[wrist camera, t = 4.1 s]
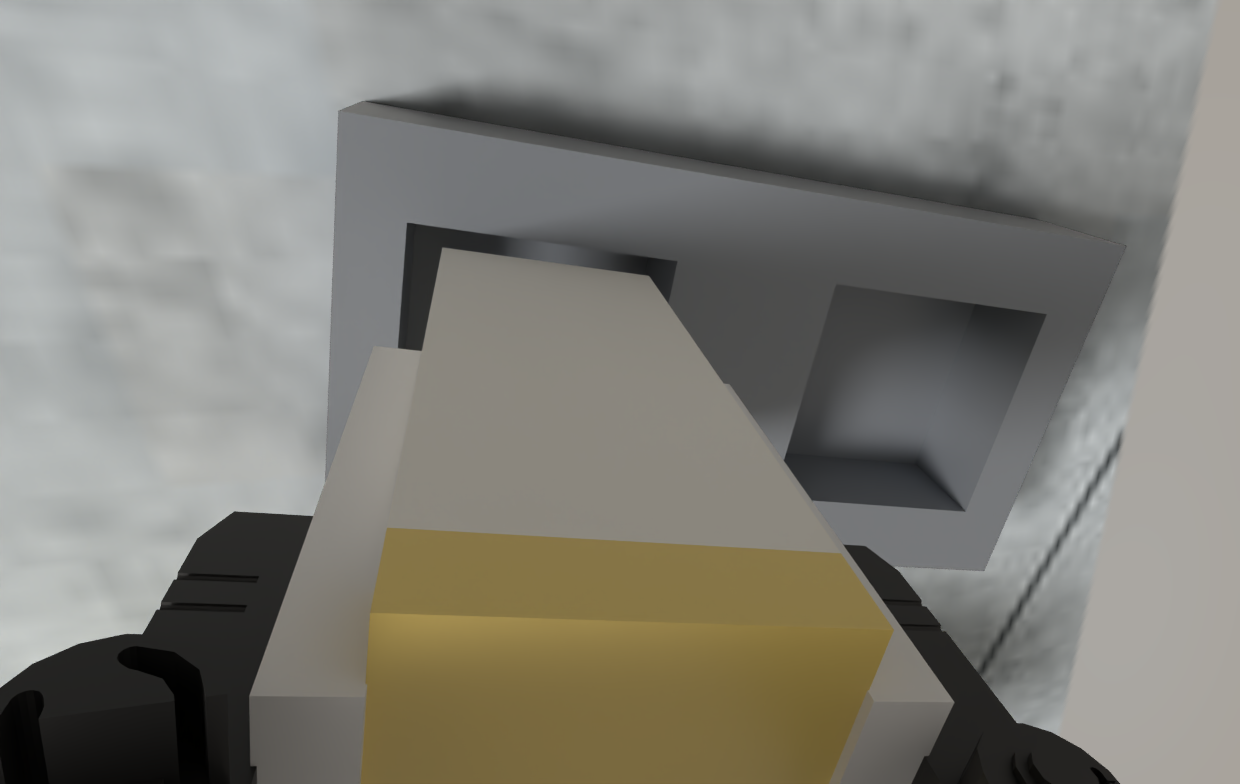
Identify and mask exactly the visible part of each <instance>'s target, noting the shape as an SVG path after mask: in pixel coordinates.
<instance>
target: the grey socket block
mask: <svg viewBox="0 0 1240 784" xmlns="http://www.w3.org/2000/svg"><path fill="white" fill-rule="evenodd" d="M442 247H443V248H451V249H458V250H465V251H472V252H480V253H487V254H494V255H501V256H509V257H516V258H523V259H530V260H538V261H545V262H552V263H559V264H567V265H574V266H581V267H589V268H596V269H603V270H610V271H618V272H625V273H632V274H639V275H647V276H649V277H650V278H651V279H652V281H653V282H654V284H655V285H656V287H657V288H658V290H659V291H660V292H661V294H662V295H663V297H664V298H665V300H666V301H667V303H668V304H669V305H670V307H671V308H672V310H673V311H674V313H675V314H676V316H677V317H678V318H679V320H680V321H681V323H682V324H683V326H684V327H685V329H686V330H687V331H688V333H689V334H690V336H691V337H692V339H693V340H694V342H695V343H696V344H697V346H698V347H699V349H700V350H701V352H702V353H703V355H704V356H705V357H706V359H707V360H708V362H709V363H710V365H711V366H712V368H713V369H714V370H715V372H716V373H717V375H718V376H719V378H720V379H721V381H722V382H723V383H724V384H730V386H731V387H732V388H733V390H734V391H735V393H736V394H737V396H738V397H739V398H740V400H741V401H742V403H743V404H744V405H745V407H746V408H747V410H748V411H749V413H750V414H751V415H752V417H753V418H754V420H755V421H756V422H757V424H758V425H759V427H760V428H761V429H762V431H763V432H764V434H765V435H766V437H767V438H768V439H769V441H770V442H771V444H772V445H773V446H774V448H775V449H776V451H777V452H778V454H779V455H780V456H781V458H782V459H783V461H784V462H785V463H786V465H787V466H788V468H789V469H790V471H791V472H792V473H793V475H794V476H795V478H796V479H797V480H798V482H799V483H800V485H801V486H802V487H803V489H804V490H805V492H806V493H807V495H808V496H809V497H810V499H811V500H812V502H813V503H814V504H815V506H816V507H817V509H818V510H819V512H820V513H821V514H822V516H823V517H824V519H825V520H826V521H827V523H828V524H829V526H830V527H831V528H832V530H833V531H834V533H835V534H836V536H837V537H838V538H839V540H840V541H841V543H842V544H843V545H859V546H866V547H868V548H869V549H870V550H872V551H873V552H874V553H876V554H877V555H878V556H879V557H881V558H882V559H883V560H885V561H886V562H887V563H889V564H890V565H891V566H898V567H917V568H936V569H955V570H974V571H984V570H985V568H986V566H987V563H988V561H989V559H990V556H991V554H992V552H993V550H994V547H995V545H996V543H997V540H998V538H999V536H1000V534H1001V531H1002V529H1003V527H1004V524H1005V522H1006V520H1007V518H1008V515H1009V513H1010V511H1011V508H1012V506H1013V504H1014V502H1015V499H1016V497H1017V495H1018V492H1019V490H1020V488H1021V486H1022V483H1023V481H1024V479H1025V476H1026V474H1027V472H1028V470H1029V467H1030V465H1031V463H1032V460H1033V458H1034V456H1035V454H1036V451H1037V449H1038V447H1039V444H1040V442H1041V440H1042V438H1043V435H1044V433H1045V431H1046V428H1047V426H1048V424H1049V422H1050V419H1051V417H1052V415H1053V412H1054V410H1055V408H1056V406H1057V403H1058V401H1059V399H1060V396H1061V394H1062V392H1063V390H1064V387H1065V385H1066V383H1067V380H1068V378H1069V376H1070V374H1071V371H1072V369H1073V367H1074V364H1075V362H1076V360H1077V358H1078V355H1079V353H1080V351H1081V348H1082V346H1083V344H1084V342H1085V339H1086V337H1087V335H1088V332H1089V330H1090V328H1091V326H1092V323H1093V321H1094V319H1095V316H1096V314H1097V312H1098V310H1099V307H1100V305H1101V303H1102V300H1103V298H1104V296H1105V294H1106V291H1107V289H1108V287H1109V284H1110V282H1111V280H1112V278H1113V275H1114V273H1115V271H1116V268H1117V266H1118V264H1119V262H1120V259H1121V257H1122V255H1123V252H1124V250H1125V248H1126V246H1125V245H1121V244H1118V243H1115V242H1111V241H1108V240H1105V239H1101V238H1098V237H1095V236H1091V235H1088V234H1085V233H1081V232H1078V231H1075V230H1071V229H1068V228H1065V227H1061V226H1058V225H1055V224H1051V223H1048V222H1045V221H1041V220H1037V219H1032V218H1026V217H1020V216H1014V215H1009V214H1003V213H997V212H992V211H986V210H980V209H975V208H969V207H963V206H957V205H952V204H946V203H940V202H935V201H929V200H923V199H918V198H912V197H906V196H900V195H895V194H889V193H883V192H878V191H872V190H866V189H861V188H855V187H849V186H843V185H838V184H832V183H826V182H821V181H815V180H809V179H804V178H798V177H792V176H787V175H781V174H775V173H769V172H764V171H758V170H752V169H747V168H741V167H735V166H730V165H724V164H718V163H712V162H707V161H701V160H695V159H690V158H684V157H678V156H673V155H667V154H661V153H655V152H650V151H644V150H638V149H633V148H627V147H621V146H616V145H610V144H604V143H598V142H593V141H587V140H581V139H576V138H570V137H564V136H559V135H553V134H547V133H541V132H536V131H530V130H524V129H519V128H513V127H507V126H502V125H496V124H490V123H484V122H479V121H473V120H467V119H462V118H456V117H450V116H445V115H439V114H433V113H427V112H422V111H416V110H410V109H405V108H399V107H393V106H388V105H382V104H376V103H370V102H365V101H362V102H359V103H357V104H354V105H352V106H349V107H347V108H344V109H342V110H339V111H338V137H337V165H336V193H335V221H334V249H333V277H332V304H331V332H330V360H329V388H328V416H327V444H326V471H325V482H326V479H327V476H328V474H329V471H330V468H331V465H332V462H333V459H334V457H335V454H336V451H337V448H338V445H339V443H340V440H341V437H342V434H343V431H344V429H345V426H346V423H347V420H348V417H349V415H350V412H351V409H352V406H353V403H354V401H355V398H356V395H357V392H358V389H359V386H360V384H361V381H362V378H363V375H364V372H365V370H366V367H367V364H368V361H369V358H370V356H371V353H372V350H373V347H374V346H379V347H388V348H398V349H407V350H416V351H422V348H423V343H424V338H425V333H426V328H427V322H428V317H429V312H430V307H431V302H432V297H433V292H434V287H435V282H436V277H437V272H438V267H439V262H440V257H441V252H442Z"/></svg>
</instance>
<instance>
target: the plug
mask: <svg viewBox="0 0 1240 784" xmlns="http://www.w3.org/2000/svg"><path fill="white" fill-rule="evenodd" d="M893 631H894V629H893V628H892V626H891V625H890V623H889V622H888V620H887V619H886V617H885V616H884V615H883V613H882V612H881V610H880V609H879V607H878V606H877V604H876V603H875V602H874V600H873V599H872V597H871V596H870V594H869V593H868V591H867V590H866V589H865V587H864V586H863V584H862V583H861V581H860V580H859V578H858V577H857V576H856V574H855V573H854V571H853V570H852V568H851V567H850V565H849V564H848V563H847V561H846V560H845V558H844V557H843V555H842V554H841V552H840V551H839V550H838V548H837V547H836V545H835V544H834V542H833V541H832V539H831V538H830V537H829V535H828V534H827V532H826V531H825V529H824V528H823V526H822V525H821V524H820V522H819V521H818V519H817V518H816V516H815V515H814V513H813V512H812V511H811V509H810V508H809V506H808V505H807V503H806V502H805V500H804V499H803V498H802V496H801V495H800V493H799V492H798V490H797V489H796V487H795V486H794V485H793V483H792V482H791V480H790V479H789V477H788V476H787V474H786V473H785V472H784V470H783V469H782V467H781V466H780V464H779V463H778V461H777V460H776V459H775V457H774V456H773V454H772V453H771V451H770V450H769V448H768V447H767V446H766V444H765V443H764V441H763V440H762V438H761V437H760V435H759V434H758V433H757V431H756V430H755V428H754V427H753V425H752V424H751V422H750V421H749V420H748V418H747V417H746V415H745V414H744V412H743V411H742V409H741V408H740V407H739V405H738V404H737V402H736V401H735V399H734V398H733V396H732V395H731V394H730V392H729V391H728V389H727V388H726V386H725V385H724V383H723V382H722V381H721V379H720V378H719V376H718V375H717V373H716V372H715V370H714V369H713V368H712V366H711V365H710V363H709V362H708V360H707V359H706V357H705V356H704V355H703V353H702V352H701V350H700V349H699V347H698V346H697V344H696V343H695V342H694V340H693V339H692V337H691V336H690V334H689V333H688V331H687V330H686V329H685V327H684V326H683V324H682V323H681V321H680V320H679V318H678V317H677V316H676V314H675V313H674V311H673V310H672V308H671V307H670V305H669V304H668V303H667V301H666V300H665V298H664V297H663V295H662V294H661V292H660V291H659V290H658V288H657V287H656V285H655V284H654V282H653V281H652V279H651V278H650V277H649V276H647V275H639V274H632V273H625V272H618V271H610V270H603V269H596V268H589V267H581V266H574V265H567V264H559V263H552V262H545V261H538V260H530V259H523V258H516V257H509V256H501V255H494V254H487V253H480V252H472V251H465V250H458V249H451V248H443V247H442V252H441V257H440V262H439V267H438V272H437V277H436V282H435V287H434V292H433V297H432V302H431V307H430V312H429V317H428V322H427V328H426V333H425V338H424V343H423V348H422V353H421V358H420V363H419V368H418V373H417V378H416V383H415V388H414V393H413V398H412V403H411V408H410V413H409V418H408V423H407V428H406V434H405V439H404V444H403V449H402V454H401V459H400V464H399V469H398V474H397V479H396V484H395V489H394V494H393V499H392V504H391V509H390V514H389V519H388V524H387V529H386V534H385V540H384V545H383V550H382V555H381V560H380V565H379V570H378V575H377V580H376V585H375V590H374V595H373V600H372V605H371V610H370V620H369V636H368V651H367V666H366V682H365V684H367V696H366V712H365V727H364V742H363V757H362V772H361V784H829V782H830V780H831V778H832V775H833V773H834V770H835V768H836V765H837V763H838V761H839V758H840V756H841V753H842V751H843V749H844V746H845V744H846V741H847V739H848V736H849V734H850V732H851V729H852V727H853V724H854V722H855V719H856V717H857V715H858V712H859V710H860V707H861V705H862V702H863V700H864V698H865V695H866V693H867V690H869V689H870V687H871V685H872V682H873V680H874V677H875V675H876V672H877V670H878V668H879V665H880V663H881V660H882V658H883V656H884V653H885V651H886V648H887V646H888V643H889V641H890V639H891V636H892V634H893Z"/></svg>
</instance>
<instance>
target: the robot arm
mask: <svg viewBox="0 0 1240 784" xmlns="http://www.w3.org/2000/svg"><path fill="white" fill-rule="evenodd" d="M421 353H422V351H416V350H407V349H398V348H388V347H379V346H374V347H373V350H372V353H371V356H370V358H369V361H368V364H367V367H366V370H365V372H364V375H363V378H362V381H361V384H360V386H359V389H358V392H357V395H356V398H355V401H354V403H353V406H352V409H351V412H350V415H349V417H348V420H347V423H346V426H345V429H344V431H343V434H342V437H341V440H340V443H339V445H338V448H337V451H336V454H335V457H334V459H333V462H332V465H331V468H330V471H329V474H328V476H327V479H326V482H325V485H324V488H323V490H322V493H321V496H320V499H319V502H318V504H317V507H316V510H315V513H314V516H302V515H285V514H268V513H251V512H233V513H232V514H230V515H229V516H228V517H226V518H225V519H223V520H222V521H221V522H219V523H218V524H217V525H215V526H214V527H213V528H211V529H210V530H208V531H207V532H206V533H204V534H203V535H202V536H200V537H199V538H198V539H197V540H196V542H195V544H194V545H193V547H192V549H191V551H190V552H189V554H188V556H187V558H186V559H185V561H184V563H183V565H182V566H181V568H180V570H179V572H178V577H177V580H173V582H172V584H171V586H170V587H169V589H168V591H167V593H166V594H165V596H164V598H163V600H162V601H161V607H160V610H156V612H155V614H154V615H153V617H152V619H151V621H150V622H149V624H148V626H147V628H146V629H145V631H144V633H143V634H124V635H119V636H114V637H109V638H104V639H100V640H95V641H90V642H85V643H81V644H77V645H75V646H73V647H70V648H68V649H66V650H64V651H61V652H59V653H57V654H54V655H52V656H50V657H48V658H45V659H43V660H41V661H38V662H36V663H34V664H32V665H31V666H29V667H28V668H27V669H25V670H24V671H22V672H21V673H20V674H18V675H17V676H16V677H14V678H13V679H12V680H10V681H9V682H7V683H6V684H5V685H3V686H2V687H1V688H0V784H361V772H362V757H363V742H364V727H365V712H366V696H367V684H365V682H366V666H367V651H368V636H369V620H370V610H371V605H372V600H373V595H374V590H375V585H376V580H377V575H378V570H379V565H380V560H381V555H382V550H383V545H384V540H385V534H386V529H387V524H388V519H389V514H390V509H391V504H392V499H393V494H394V489H395V484H396V479H397V474H398V469H399V464H400V459H401V454H402V449H403V444H404V439H405V434H406V428H407V423H408V418H409V413H410V408H411V403H412V398H413V393H414V388H415V383H416V378H417V373H418V368H419V363H420V358H421ZM724 385H725V386H726V388H727V389H728V391H729V392H730V394H731V395H732V396H733V398H734V399H735V401H736V402H737V404H738V405H739V407H740V408H741V409H742V411H743V412H744V414H745V415H746V417H747V418H748V420H749V421H750V422H751V424H752V425H753V427H754V428H755V430H756V431H757V433H758V434H759V435H760V437H761V438H762V440H763V441H764V443H765V444H766V446H767V447H768V448H769V450H770V451H771V453H772V454H773V456H774V457H775V459H776V460H777V461H778V463H779V464H780V466H781V467H782V469H783V470H784V472H785V473H786V474H787V476H788V477H789V479H790V480H791V482H792V483H793V485H794V486H795V487H796V489H797V490H798V492H799V493H800V495H801V496H802V498H803V499H804V500H805V502H806V503H807V505H808V506H809V508H810V509H811V511H812V512H813V513H814V515H815V516H816V518H817V519H818V521H819V522H820V524H821V525H822V526H823V528H824V529H825V531H826V532H827V534H828V535H829V537H830V538H831V539H832V541H833V542H834V544H835V545H836V547H837V548H838V550H839V551H840V552H841V554H842V555H843V557H844V558H845V560H846V561H847V563H848V564H849V565H850V567H851V568H852V570H853V571H854V573H855V574H856V576H857V577H858V578H859V580H860V581H861V583H862V584H863V586H864V587H865V589H866V590H867V591H868V593H869V594H870V596H871V597H872V599H873V600H874V602H875V603H876V604H877V606H878V607H879V609H880V610H881V612H882V613H883V615H884V616H885V617H886V619H887V620H888V622H889V623H890V625H891V626H892V628H893V629H894V631H893V634H892V636H891V639H890V641H889V643H888V646H887V648H886V651H885V653H884V656H883V658H882V660H881V663H880V665H879V668H878V670H877V672H876V675H875V677H874V680H873V682H872V685H871V687H870V689H869V690H867V693H866V695H865V698H864V700H863V702H862V705H861V707H860V710H859V712H858V715H857V717H856V719H855V722H854V724H853V727H852V729H851V732H850V734H849V736H848V739H847V741H846V744H845V746H844V749H843V751H842V753H841V756H840V758H839V761H838V763H837V765H836V768H835V770H834V773H833V775H832V778H831V780H830V782H829V784H1120V783H1119V782H1118V781H1117V780H1116V779H1115V777H1114V776H1113V775H1112V774H1111V773H1110V772H1109V770H1107V769H1106V768H1105V767H1104V766H1102V765H1101V764H1100V763H1098V762H1097V761H1096V760H1095V759H1094V758H1092V757H1091V756H1090V755H1089V754H1087V753H1086V752H1085V751H1084V750H1082V749H1081V748H1079V747H1077V746H1075V745H1074V744H1072V743H1070V742H1068V741H1066V740H1065V739H1063V738H1061V737H1059V736H1057V735H1055V734H1054V733H1052V732H1049V731H1046V730H1042V729H1039V728H1036V727H1033V726H1029V725H1026V724H1023V723H1016V722H1015V720H1014V719H1013V718H1012V716H1011V715H1010V714H1009V713H1008V711H1007V710H1006V709H1005V707H1004V706H1003V705H1002V704H1001V702H1000V701H999V700H998V698H997V697H996V696H995V694H994V693H993V692H992V691H991V689H990V688H989V687H988V685H987V684H986V683H985V682H984V680H983V679H982V678H981V676H980V675H979V674H978V673H977V671H976V670H975V669H974V667H973V666H972V665H971V664H970V662H969V661H968V660H967V658H966V657H965V656H964V655H963V653H962V652H961V651H960V649H959V648H958V647H957V646H956V644H955V643H954V642H953V640H952V639H951V638H950V637H949V635H948V634H947V633H946V632H942V631H941V629H940V626H941V625H940V624H939V622H938V621H937V620H936V619H935V617H934V616H933V615H932V613H931V612H930V611H929V610H928V608H927V607H925V606H922V605H921V599H920V598H919V597H918V595H917V594H916V593H915V591H914V590H913V589H912V588H911V586H910V585H909V584H908V582H907V581H906V580H905V579H904V577H903V576H902V575H901V573H900V572H899V571H898V570H896V569H895V568H894V567H892V566H891V565H890V564H889V563H887V562H886V561H885V560H883V559H882V558H881V557H879V556H878V555H877V554H876V553H874V552H873V551H872V550H870V549H869V548H868V547H866V546H859V545H843V544H842V543H841V541H840V540H839V538H838V537H837V536H836V534H835V533H834V531H833V530H832V528H831V527H830V526H829V524H828V523H827V521H826V520H825V519H824V517H823V516H822V514H821V513H820V512H819V510H818V509H817V507H816V506H815V504H814V503H813V502H812V500H811V499H810V497H809V496H808V495H807V493H806V492H805V490H804V489H803V487H802V486H801V485H800V483H799V482H798V480H797V479H796V478H795V476H794V475H793V473H792V472H791V471H790V469H789V468H788V466H787V465H786V463H785V462H784V461H783V459H782V458H781V456H780V455H779V454H778V452H777V451H776V449H775V448H774V446H773V445H772V444H771V442H770V441H769V439H768V438H767V437H766V435H765V434H764V432H763V431H762V429H761V428H760V427H759V425H758V424H757V422H756V421H755V420H754V418H753V417H752V415H751V414H750V413H749V411H748V410H747V408H746V407H745V405H744V404H743V403H742V401H741V400H740V398H739V397H738V396H737V394H736V393H735V391H734V390H733V388H732V387H731V386H730V384H724Z"/></svg>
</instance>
